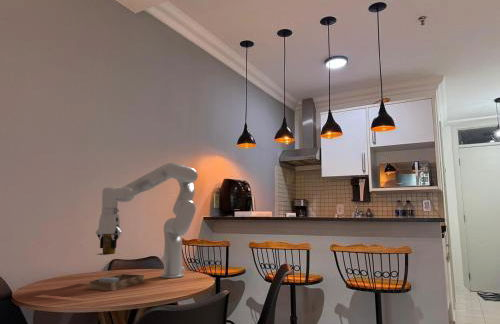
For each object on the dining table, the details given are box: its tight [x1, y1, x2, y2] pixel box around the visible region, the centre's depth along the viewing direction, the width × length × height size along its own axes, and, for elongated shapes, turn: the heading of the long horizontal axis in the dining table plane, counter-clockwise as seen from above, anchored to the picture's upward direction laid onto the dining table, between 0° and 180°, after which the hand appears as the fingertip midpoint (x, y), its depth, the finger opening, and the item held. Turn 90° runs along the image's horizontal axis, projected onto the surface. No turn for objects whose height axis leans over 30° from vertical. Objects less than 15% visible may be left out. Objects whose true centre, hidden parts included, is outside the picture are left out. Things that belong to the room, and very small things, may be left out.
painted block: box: [98, 276, 119, 283], centre depth 163 cm, size 4×8×4 cm, turn 71°
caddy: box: [88, 273, 145, 291], centre depth 168 cm, size 22×13×4 cm, turn 161°
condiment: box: [96, 234, 119, 256], centre depth 180 cm, size 7×8×12 cm
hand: (108, 247), depth 180 cm, fingers closed on condiment, 6 cm apart
